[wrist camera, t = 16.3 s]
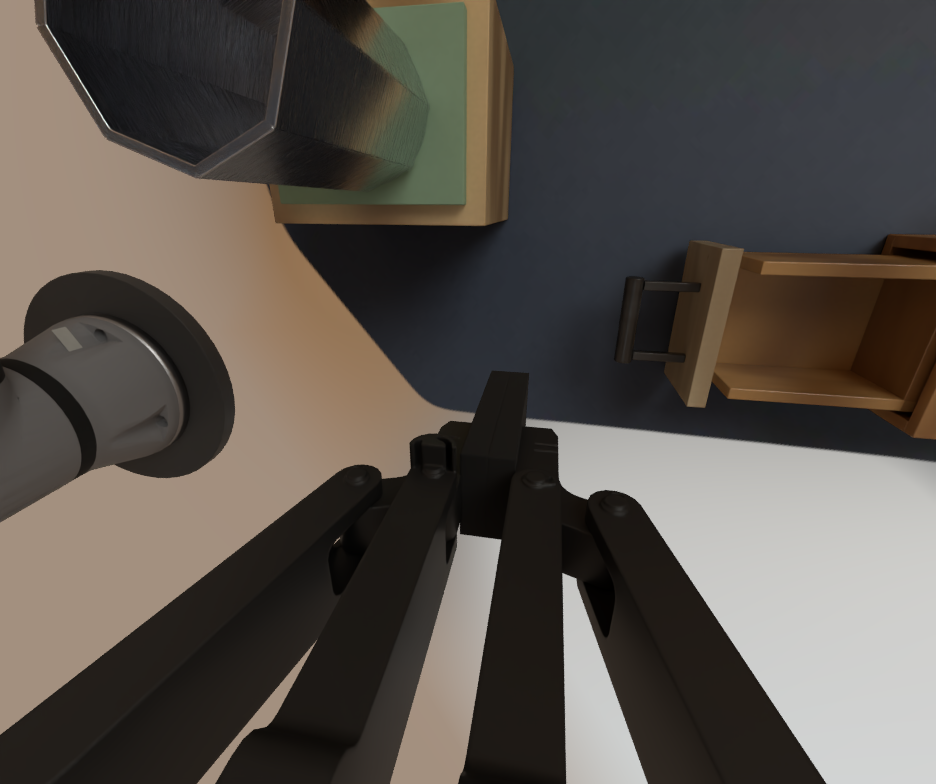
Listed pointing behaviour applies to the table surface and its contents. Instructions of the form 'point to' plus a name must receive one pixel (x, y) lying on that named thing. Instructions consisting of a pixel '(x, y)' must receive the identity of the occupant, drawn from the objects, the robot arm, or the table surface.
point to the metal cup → (246, 86)
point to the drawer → (794, 327)
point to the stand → (484, 139)
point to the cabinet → (932, 410)
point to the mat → (445, 85)
